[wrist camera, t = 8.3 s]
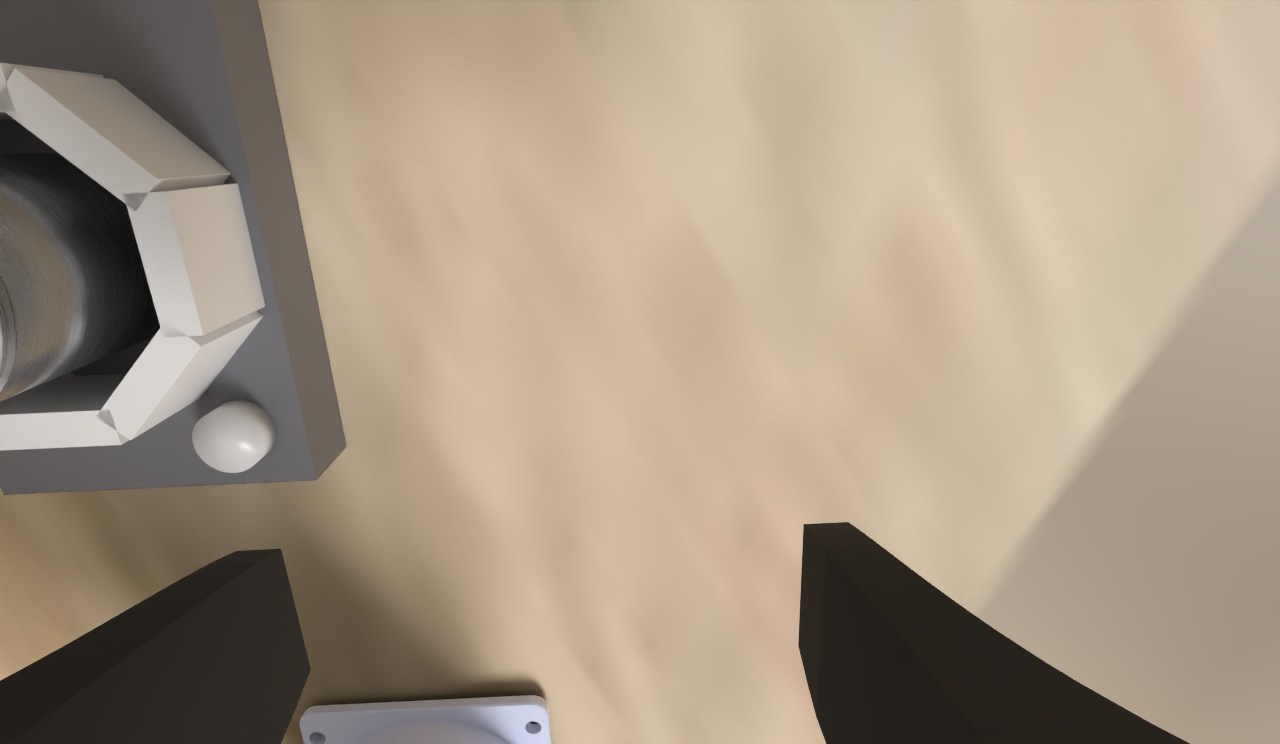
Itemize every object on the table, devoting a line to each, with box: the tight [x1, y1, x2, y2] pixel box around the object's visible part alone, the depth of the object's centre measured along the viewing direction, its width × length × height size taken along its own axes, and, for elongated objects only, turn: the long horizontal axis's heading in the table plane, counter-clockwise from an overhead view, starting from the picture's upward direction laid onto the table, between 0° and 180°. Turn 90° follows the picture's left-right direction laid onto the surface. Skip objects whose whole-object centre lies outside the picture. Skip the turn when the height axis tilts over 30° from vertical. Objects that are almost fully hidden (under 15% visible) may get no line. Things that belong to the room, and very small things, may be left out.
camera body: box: [0, 0, 346, 495], centre depth 15 cm, size 12×8×4 cm, turn 2°
